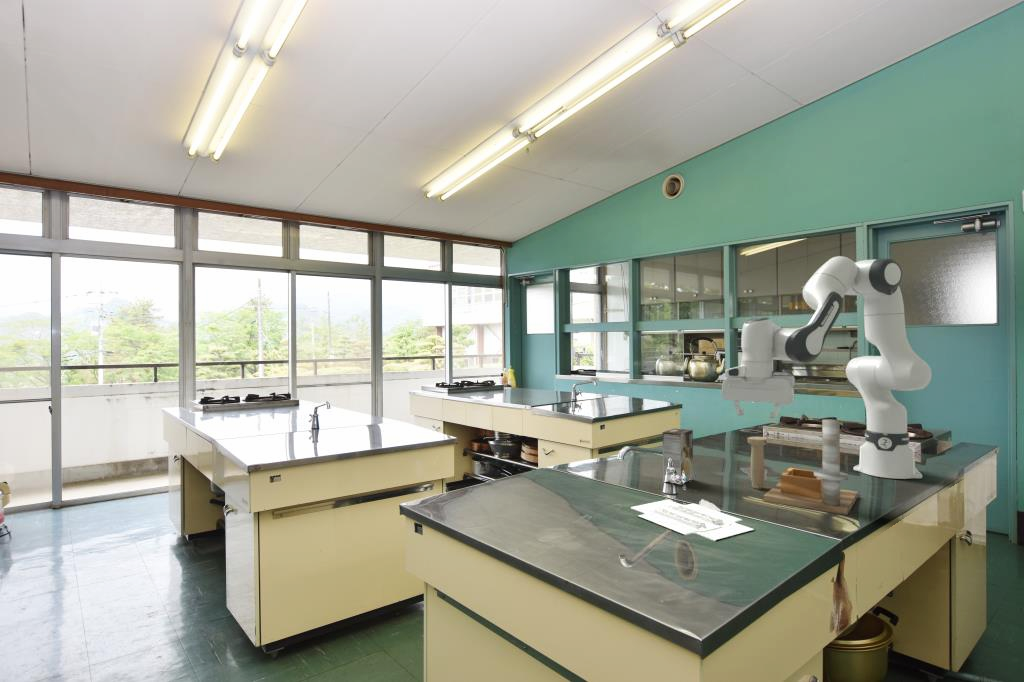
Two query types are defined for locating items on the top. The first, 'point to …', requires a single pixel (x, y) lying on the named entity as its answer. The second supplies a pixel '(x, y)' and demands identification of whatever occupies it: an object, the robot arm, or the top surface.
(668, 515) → the stacked white papers
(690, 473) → the coffee box
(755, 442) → the handle
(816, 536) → the top surface
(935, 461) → the top surface
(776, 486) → the rosette stand
